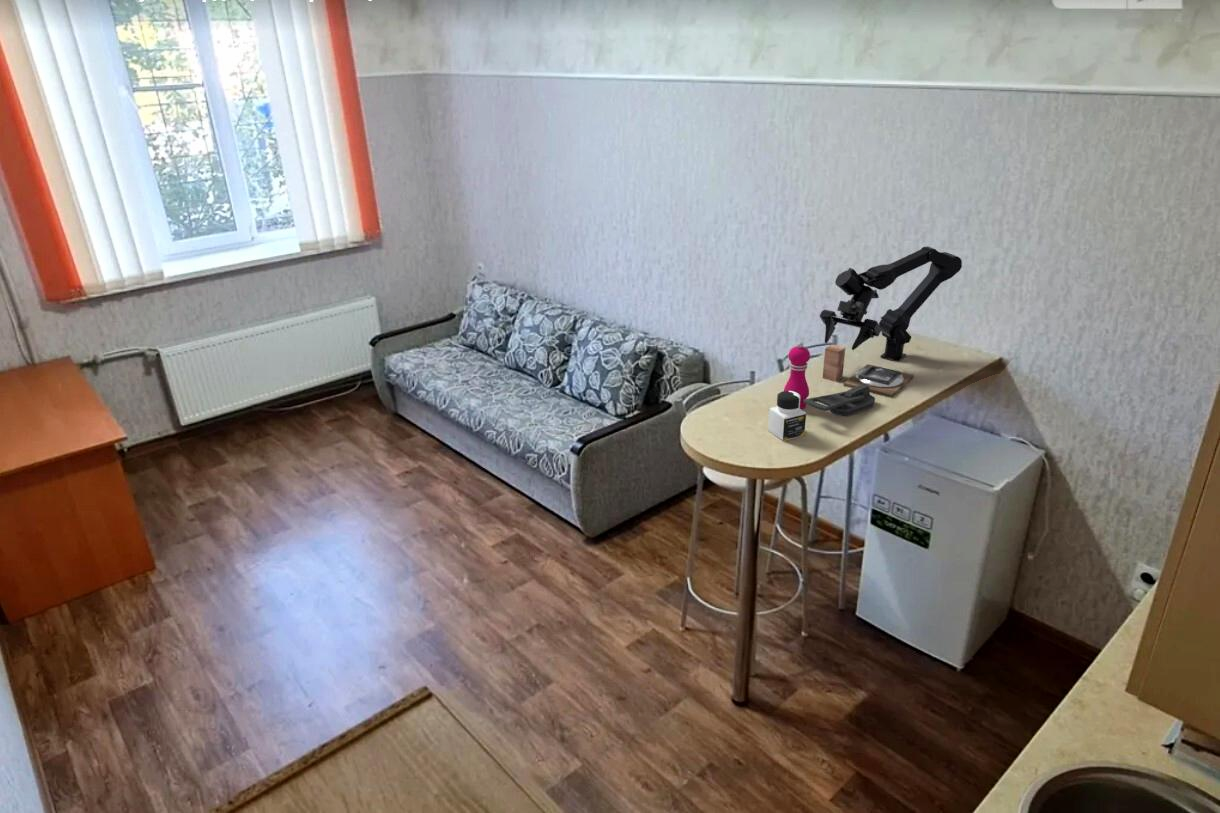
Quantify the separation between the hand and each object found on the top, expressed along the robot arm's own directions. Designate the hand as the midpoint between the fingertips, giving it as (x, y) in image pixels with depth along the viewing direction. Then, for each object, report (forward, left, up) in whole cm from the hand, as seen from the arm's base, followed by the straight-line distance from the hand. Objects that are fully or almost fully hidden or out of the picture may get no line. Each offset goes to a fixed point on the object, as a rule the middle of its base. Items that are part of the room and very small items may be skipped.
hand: (838, 346), depth 242 cm
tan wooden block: (+3, 0, -10) cm, 10 cm away
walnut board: (-2, +13, -10) cm, 16 cm away
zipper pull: (+24, +12, -10) cm, 29 cm away
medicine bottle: (+45, +6, -10) cm, 46 cm away
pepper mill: (+28, 0, -10) cm, 29 cm away
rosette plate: (-2, +13, -10) cm, 16 cm away
